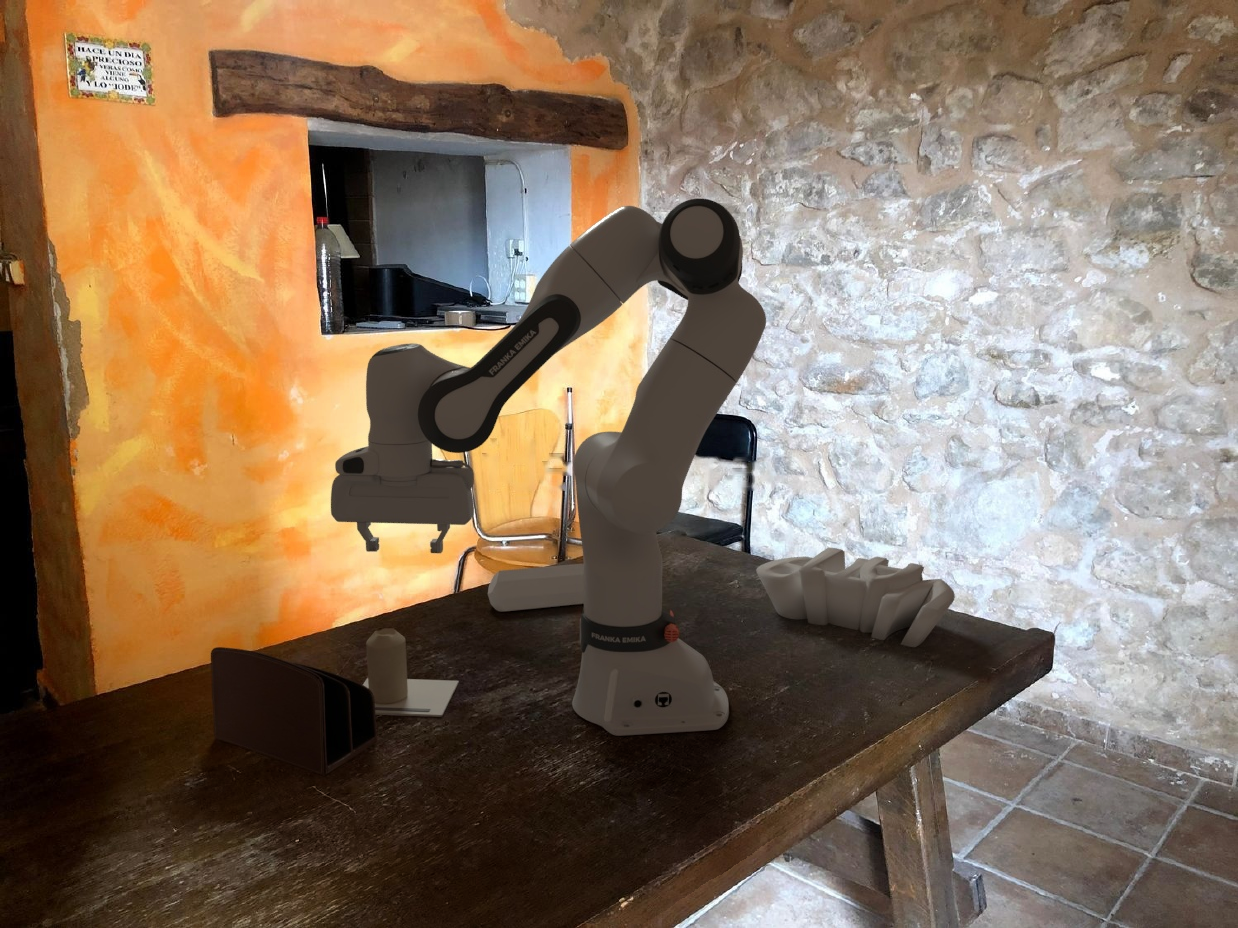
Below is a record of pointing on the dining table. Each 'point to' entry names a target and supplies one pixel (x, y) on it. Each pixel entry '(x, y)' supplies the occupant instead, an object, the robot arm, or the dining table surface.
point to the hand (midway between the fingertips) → (404, 551)
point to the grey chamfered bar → (537, 587)
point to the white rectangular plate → (420, 699)
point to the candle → (387, 666)
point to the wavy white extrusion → (857, 594)
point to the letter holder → (290, 710)
